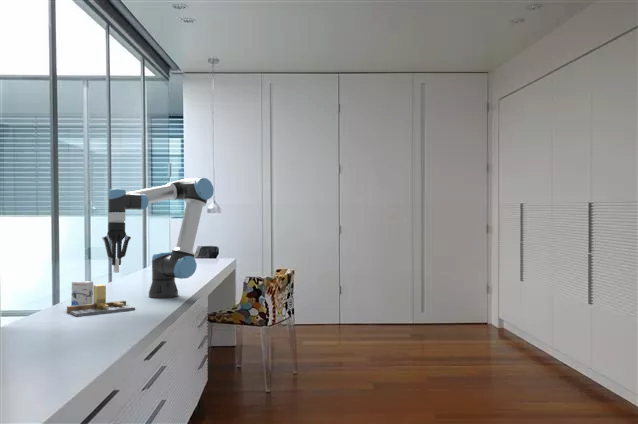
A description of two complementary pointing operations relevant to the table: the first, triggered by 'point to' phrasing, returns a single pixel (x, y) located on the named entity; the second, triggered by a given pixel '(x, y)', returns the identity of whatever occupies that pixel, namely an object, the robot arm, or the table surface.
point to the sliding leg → (99, 296)
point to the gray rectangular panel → (101, 310)
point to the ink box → (82, 293)
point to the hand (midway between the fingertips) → (116, 272)
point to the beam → (94, 306)
